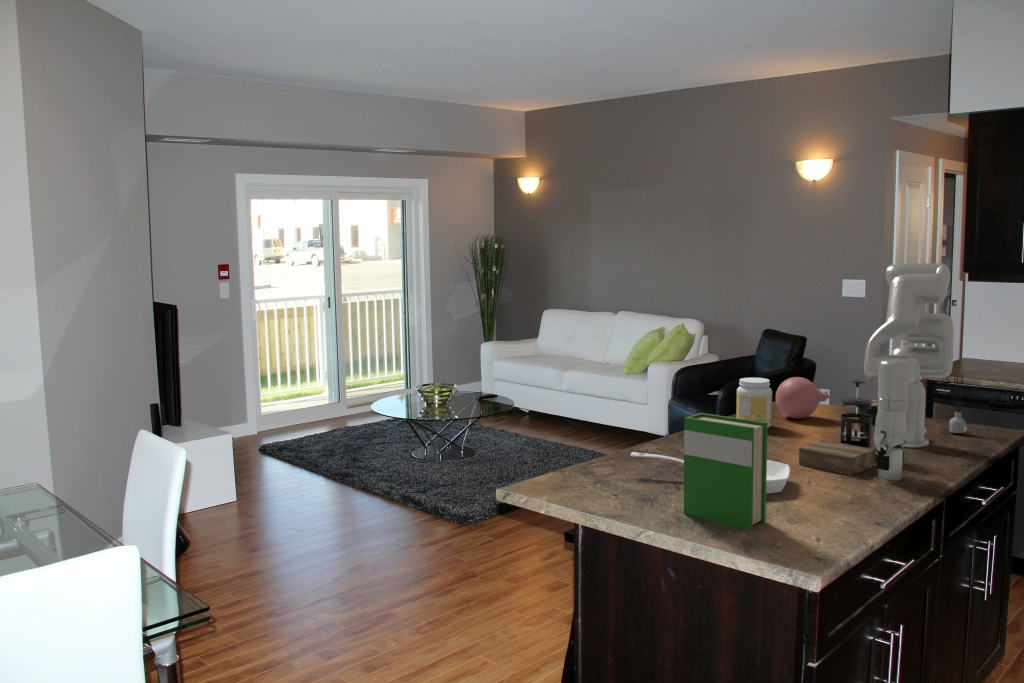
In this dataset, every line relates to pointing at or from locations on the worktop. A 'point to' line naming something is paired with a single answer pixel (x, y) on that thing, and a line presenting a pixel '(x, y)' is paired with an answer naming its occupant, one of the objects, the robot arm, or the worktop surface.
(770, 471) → the pan
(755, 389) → the supplement tub
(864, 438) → the french press
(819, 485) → the worktop surface
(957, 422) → the reed diffuser
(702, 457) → the hardback book
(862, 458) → the brown wooden block
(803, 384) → the balloon
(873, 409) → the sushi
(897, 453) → the white rounded capsule
